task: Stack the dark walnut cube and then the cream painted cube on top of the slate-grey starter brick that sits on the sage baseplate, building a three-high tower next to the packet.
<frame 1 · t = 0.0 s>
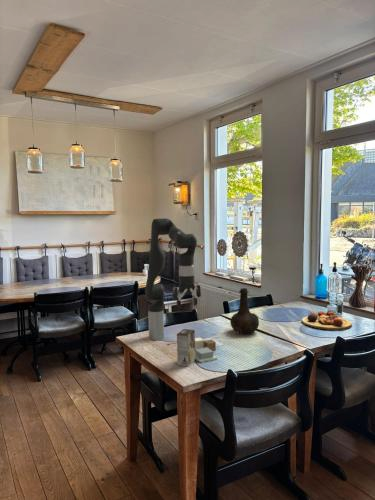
hand: (187, 306, 188), 29 cm above the table, fingers open, 8 cm apart
glass bottle: (244, 332, 240), on the table
cream brick: (198, 348, 213), on the table
walnut brick: (209, 350, 209), on the table
wooden plate with food: (326, 324, 256), on the table
coffee box: (186, 362, 192), on the table
tower base: (204, 357, 198), on the table
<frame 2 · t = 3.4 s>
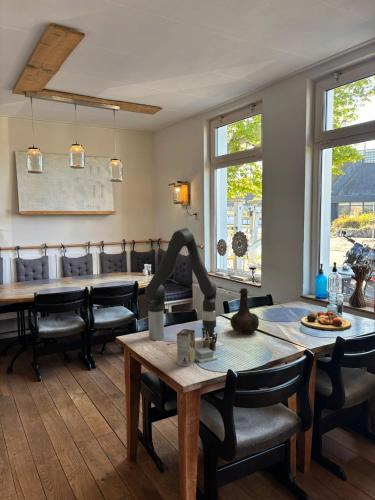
hand: (209, 348, 209), 1 cm above the table, fingers closed on walnut brick, 5 cm apart
walnut brick: (209, 350, 209), on the table, touching gripper
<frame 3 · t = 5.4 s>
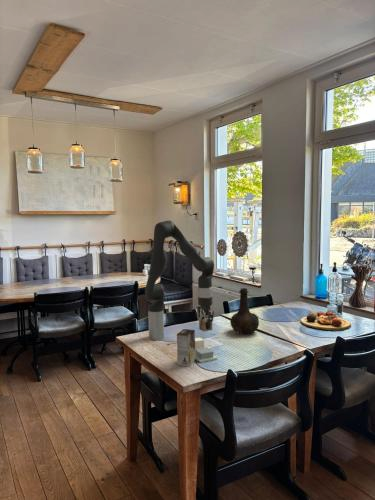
hand: (205, 327, 198), 16 cm above the table, fingers closed on walnut brick, 5 cm apart
walnut brick: (205, 329, 198), point 15 cm above the table, touching gripper
when the fingers open (6 cm above the table, at t = 7.7 s): walnut brick drops 1 cm, resting on tower base.
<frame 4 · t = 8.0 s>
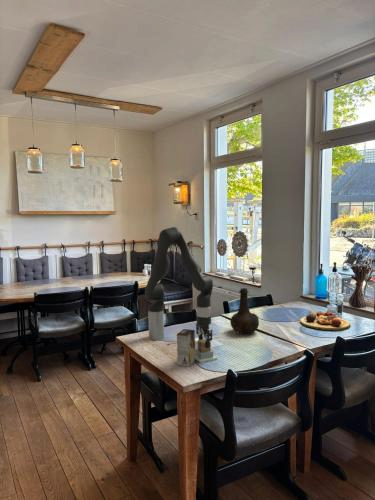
hand: (204, 345, 197), 7 cm above the table, fingers open, 7 cm apart
walnut brick: (204, 350, 198), point 4 cm above the table, touching tower base
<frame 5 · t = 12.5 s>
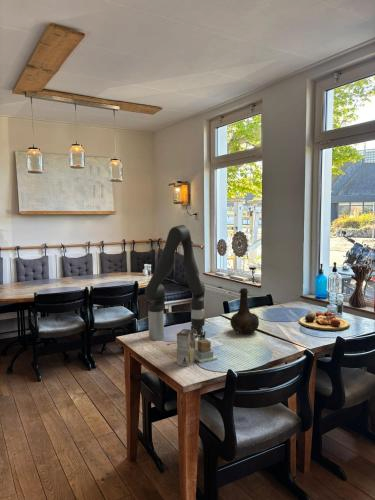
hand: (198, 346, 213), 1 cm above the table, fingers closed on cream brick, 5 cm apart
cream brick: (198, 347, 213), on the table, touching gripper
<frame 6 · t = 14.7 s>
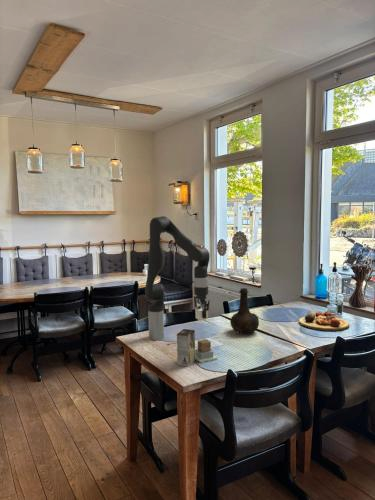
hand: (201, 316, 203), 20 cm above the table, fingers closed on cream brick, 5 cm apart
cream brick: (201, 318, 203), point 19 cm above the table, touching gripper
when the fingers open (11 cm above the table, at t = 17.2 s): cream brick drops 1 cm, resting on walnut brick.
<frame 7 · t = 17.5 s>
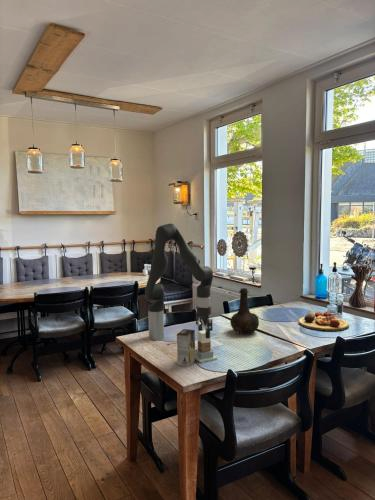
hand: (204, 335, 197), 12 cm above the table, fingers open, 8 cm apart
cream brick: (204, 341, 197), point 9 cm above the table, touching walnut brick
walnut brick: (204, 350, 198), point 4 cm above the table, touching cream brick, tower base
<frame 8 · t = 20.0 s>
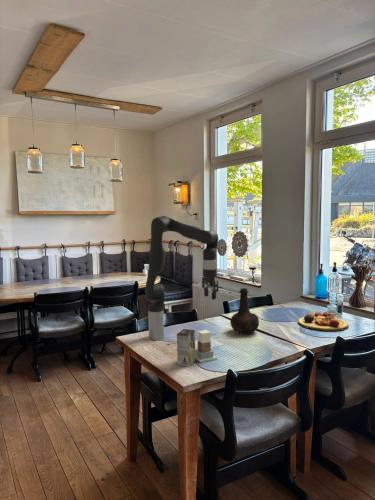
hand: (210, 297, 204), 30 cm above the table, fingers open, 8 cm apart
at the end: walnut brick 0.1 cm off-centre on the tower base, point 4.0 cm above the tower base's base; cream brick 0.0 cm off-centre on the tower base, point 9.0 cm above the tower base's base; cream brick tilted 0° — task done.
